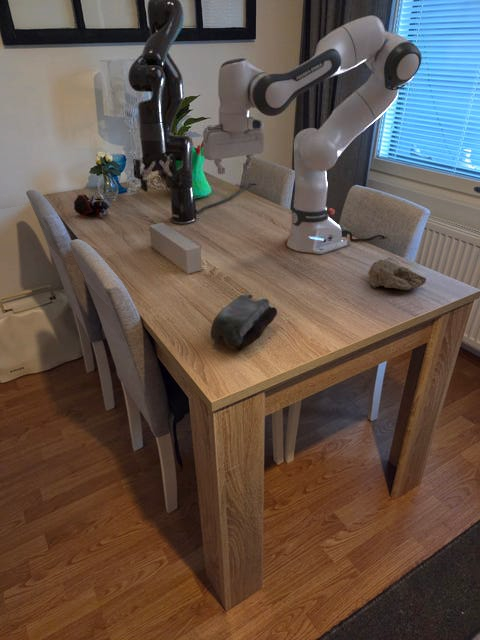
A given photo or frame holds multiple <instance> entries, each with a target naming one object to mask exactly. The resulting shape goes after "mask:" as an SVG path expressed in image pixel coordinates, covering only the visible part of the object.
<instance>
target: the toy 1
mask: <svg viewBox="0 0 480 640" xmlns="http://www.w3.org/2000/svg"><path fill="white" fill-rule="evenodd" d="M95 197H96V195H95V194H90V196H87V195H86V194H78V195H77V197H76V198H75V199H74V201H73V209H74V211H75V212H76V213H77V214H78V215H80V216H82V217H88V218H93V219H99V220H100V219H101V220H102V219H103V218H102V216H101V214H102V215H103V216H107V215H108V214H109V210H108V209H109V207H110V205H111V203H110V202H109V201H108V200H107V199H106V198H100V197H98V198H95Z"/></svg>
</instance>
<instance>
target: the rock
mask: <svg viewBox="0 0 480 640" xmlns="http://www.w3.org/2000/svg"><path fill="white" fill-rule="evenodd" d="M277 315H278V309H277V308H276V307H274V306H271V305H270V300H269V299H268V298H261V299H258V300H253V295H252V294H248V295H247V294H246V295H245V294H241V295H239V296H238V297H237V298H235V299H234V300H232V301H231V302H229V304H227V305H226V306H225V307H223V308H222V309H221V310H220V311H219V312H218V314H217V315H216V316H215V318H214V319H213V322H212V325H211V327H210V328H211V329H210V338H211V339H212V340H213V341H214V342H216V343H221V342H224V344H225V345H226V346H227V347H228V348H230V349H231V350H235V351H236V352H241V351H242V350H243V349H245V348H246V347H248V346H249V345H251V344H253V343H255V341H257V340H258V339H259V338H260V337H261V336H262V335H263V333H264V331H265V329H266V328H267V327H268V326H269V325H270V324H272V322H273V321H274V319H275V318H276V317H277Z"/></svg>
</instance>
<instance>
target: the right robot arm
mask: <svg viewBox="0 0 480 640" xmlns="http://www.w3.org/2000/svg"><path fill="white" fill-rule="evenodd" d="M315 48H316V50H315V53H314V55H313V56H312V57H310V59H308V60H306V61H305V62H303V63H301V64H299V65H297V66H295V67H294V68H292V69H291V70H288V71H287V72H284V73H271V72H267V71H265V70H262V69H260V68H258V67H257V66H255V65H253V64H252V63H251V62H249V61H248V59H247V58H242V57H241V58H234V59H230V60H227V61H224V62H223V63H222V64H221V65H220V67H219V71H218V80H217V82H218V83H217V84H218V85H217V89H218V90H217V94H218V95H217V96H218V99H219V107H218V124H214V125H211V124H210V125H207V127H206V128H204V130H203V132H202V137H203V140H204V142H203V156H204V158H205V160H207V161H213V163H214V165H215V166H216V168H217V174H219V175H224V174H225V173H226V168H225V167H223V166H222V163H223V162H222V160H223V159H229V158H237V157H244V156H245V157H246V160H245V162H244V163H242V168H243V170H244V171H248V170H249V171H250V170H251V164H252V162H253V160H254V156H255V155H258V154H263V152H264V149H265V133H264V131H263V128H264V121H263V120H261V119H258V118H254V117H253V116H250V109H252V108H255V109H256V110H258V111H259V112H260V113H261V114H263V115H265V116H268V117H276V116H278V115H281V114H282V113H283V112H285V111H286V110H287V108H288V107H289V106H290V105H291V103H292V102H293V101H294V100H295V99H296V98H298V97H299V96H300V95H301V94H303V93H305V92H307V91H309V90H310V89H312V88H314V87H315V86H317V85H318V84H321V83H322V82H324V81H325V80H328V79H330V78H333V77H336V76H339V75H342V74H344V73H346V72H349V71H350V70H352V69H354V68H356V67H358V66H359V65H361V64H363V65H364V66H365V68H367V69H369V71H371V74H370V76H369V77H368V79H367V81H366V82H364V83H363V84H362V85H361V86H360V87H359V88H357V89H356V90H355V91H353V92H352V93H351V94H350V95H349V96H348V97H347V98H345V99H344V100H343V101H342V102H340V104H338V106H336V107H335V108H334V109H333V110H332V111H331V114H330V115H329V116H328V118H327V119H326V120H325V121H324V123H323V124H322V125H321V126H320V127H319V128H318V129H317V128H315V127H308V128H304V129H302V130H301V131H299V132H298V133H297V134H296V136H295V137H294V140H293V165H294V170H293V171H294V195H293V206H292V209H291V226H290V231H289V235H288V239H287V241H286V246H287V247H288V248H289V249H291V250H293V251H296V252H301V253H310V254H315V255H322V254H326V253H329V252H331V251H334V250H337V249H341V248H344V247H347V246H348V241H347V239H346V238H347V237H348V235H349V240H350V241H351V242H360V241H361V242H362V241H363V242H364V241H366V242H367V241H371V240H374V239H376V238H378V237H380V238H382V239H386V237H385V236H384V235H383V234H382V233H377V234H376V235H372V236H370V237H363V238H361V237H359V238H353V233H352V232H351V231H350V230H348V229H347V228H346V227H345V226H344V225H339V224H338V223H337V222H335V221H334V220H333V219H332V218H330V216H333V215H335V213H336V210H335V209H333V208H332V207H327V205H326V204H327V196H328V187H329V185H328V179H327V172H328V171H329V170H331V169H332V168H333V167H334V166H335V165H336V162H337V161H338V159H339V157H340V156H341V155H342V153H343V152H344V150H346V148H347V147H349V145H350V144H351V143H352V142H353V141H354V140H355V139H356V138H357V137H358V136H359V135H361V133H363V132H364V131H365V130H366V129H367V128H369V126H371V125H372V124H373V123H374V122H376V121H377V120H378V119H379V118H381V116H382V115H384V114H385V112H386V111H387V110H388V109H389V108H390V107H391V106H392V105H393V104H394V102H395V101H396V100H397V98H398V96H399V90H400V89H402V88H404V87H405V86H406V85H407V84H408V83H409V82H411V80H412V79H413V78H414V77H415V76H416V74H417V73H418V71H419V69H420V67H421V64H422V60H423V59H422V53H421V51H420V49H419V48H418V47H417V45H415V43H413V42H411V41H409V40H408V39H407V38H405V37H404V36H402V35H400V34H396V33H394V32H390V31H389V30H388V29H385V25H384V23H383V22H382V20H381V19H380V18H379V17H378V16H376V15H367V16H363V17H360V18H356V19H354V20H352V21H349V22H347V23H345V24H343V25H341V26H338V27H337V28H335V29H333V30H332V31H330V32H329V33H327V34H326V35H325V36H324V37H323V38H321V39H320V40H319V41H318V43H317V45H316V47H315ZM329 215H330V216H329Z"/></svg>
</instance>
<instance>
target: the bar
mask: <svg viewBox="0 0 480 640" xmlns="http://www.w3.org/2000/svg"><path fill="white" fill-rule="evenodd" d="M148 227H149V236H150V237H149V238H150V245H151V247H152V248H153V249H154V250H156V251H157V252H158V253H159V254H161V255H162V257H165V258H166V259H167V260H168V261H170V262H171V263H172V264H174V265H175V266H177V268H179V269H180V270H181V271H183V272H184V273H186V274H187V275H189V274H192V273H196V272H199V271H203V269H202V251H201V250H202V248H201V246H200V245H198V244H197V243H195V242H193V241H192V240H190V239H189V238H187V237H185V236H184V235H183V234H181V233H179V232H178V231H176V230H174V229H173V228H172V227H170V226H169V225H167V224H165V223H163V222H159V223H154V224H150V225H148Z"/></svg>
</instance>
